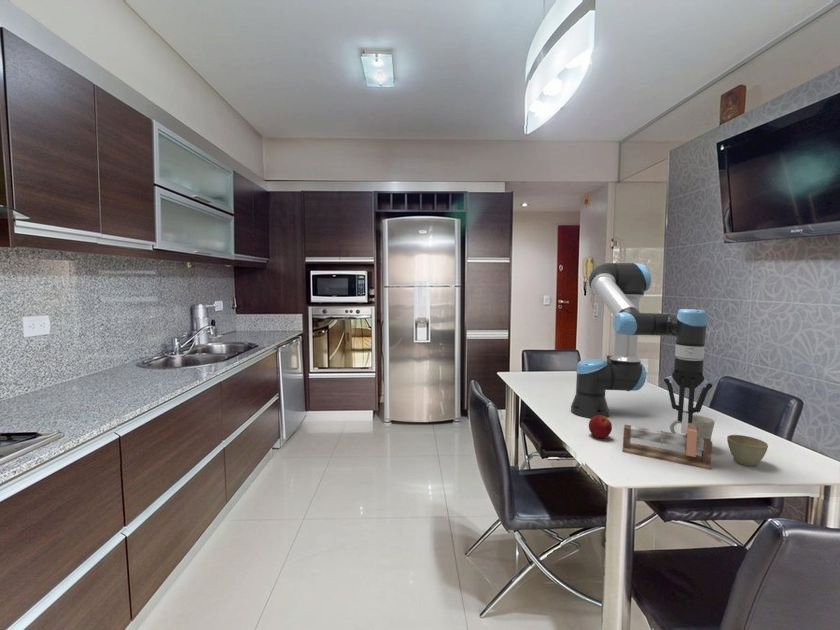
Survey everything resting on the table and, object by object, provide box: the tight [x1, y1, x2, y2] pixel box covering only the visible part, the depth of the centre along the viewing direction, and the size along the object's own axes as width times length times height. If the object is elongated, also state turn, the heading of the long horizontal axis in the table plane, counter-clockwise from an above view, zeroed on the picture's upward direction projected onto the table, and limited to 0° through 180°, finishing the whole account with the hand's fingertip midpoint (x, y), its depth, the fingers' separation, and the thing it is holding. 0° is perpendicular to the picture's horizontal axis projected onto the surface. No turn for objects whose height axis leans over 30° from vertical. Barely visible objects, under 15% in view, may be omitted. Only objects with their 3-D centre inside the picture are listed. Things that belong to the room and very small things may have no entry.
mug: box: [669, 414, 715, 440], centre depth 138 cm, size 8×13×10 cm, turn 58°
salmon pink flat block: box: [684, 424, 697, 457], centre depth 126 cm, size 2×7×8 cm, turn 150°
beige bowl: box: [726, 434, 769, 467], centre depth 125 cm, size 10×10×7 cm
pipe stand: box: [621, 424, 713, 470], centre depth 129 cm, size 24×8×8 cm, turn 60°
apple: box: [588, 415, 613, 439], centre depth 145 cm, size 8×8×8 cm
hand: (684, 431), depth 127 cm, fingers closed
